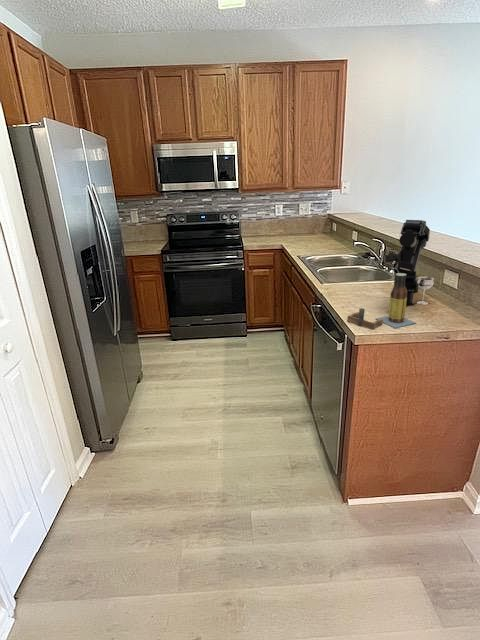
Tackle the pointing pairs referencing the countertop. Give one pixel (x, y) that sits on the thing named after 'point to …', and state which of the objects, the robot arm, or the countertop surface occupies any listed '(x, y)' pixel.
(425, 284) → the wineglass
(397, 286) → the sauce bottle
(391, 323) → the slate mat
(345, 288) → the countertop surface
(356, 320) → the c holder
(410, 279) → the robot arm
